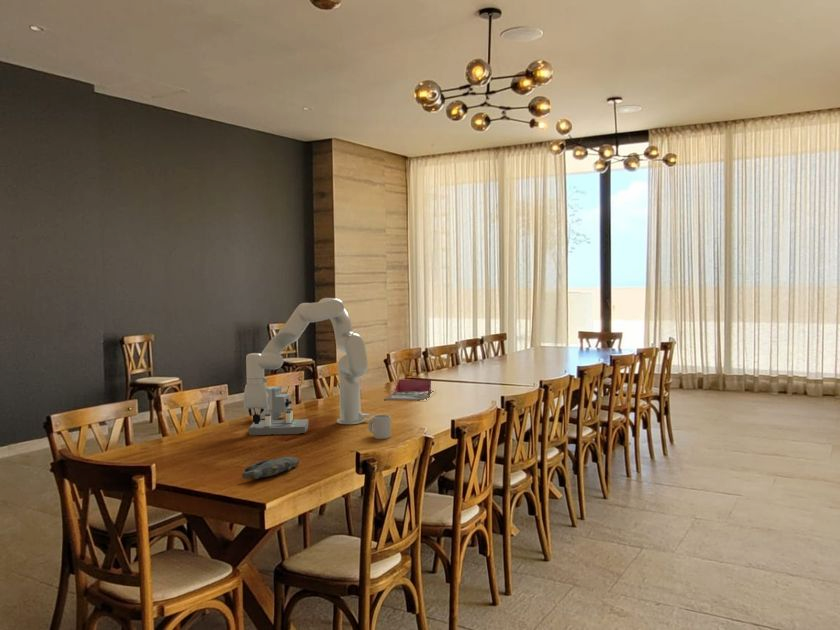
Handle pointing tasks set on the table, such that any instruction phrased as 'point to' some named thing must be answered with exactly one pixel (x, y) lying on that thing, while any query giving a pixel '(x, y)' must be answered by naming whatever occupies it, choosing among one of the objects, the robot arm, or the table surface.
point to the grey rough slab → (270, 467)
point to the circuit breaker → (276, 402)
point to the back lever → (291, 412)
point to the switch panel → (279, 427)
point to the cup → (380, 426)
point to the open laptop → (411, 390)
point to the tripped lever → (267, 419)
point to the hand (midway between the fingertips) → (256, 423)
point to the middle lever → (288, 416)
